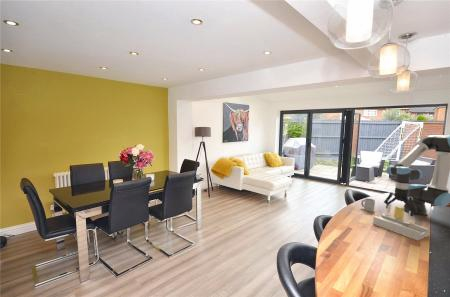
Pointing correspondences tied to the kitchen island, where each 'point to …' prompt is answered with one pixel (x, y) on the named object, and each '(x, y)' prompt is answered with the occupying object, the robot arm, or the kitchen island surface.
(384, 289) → the kitchen island surface
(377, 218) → the rail
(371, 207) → the cup
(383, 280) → the kitchen island surface
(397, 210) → the yellow juice carton
